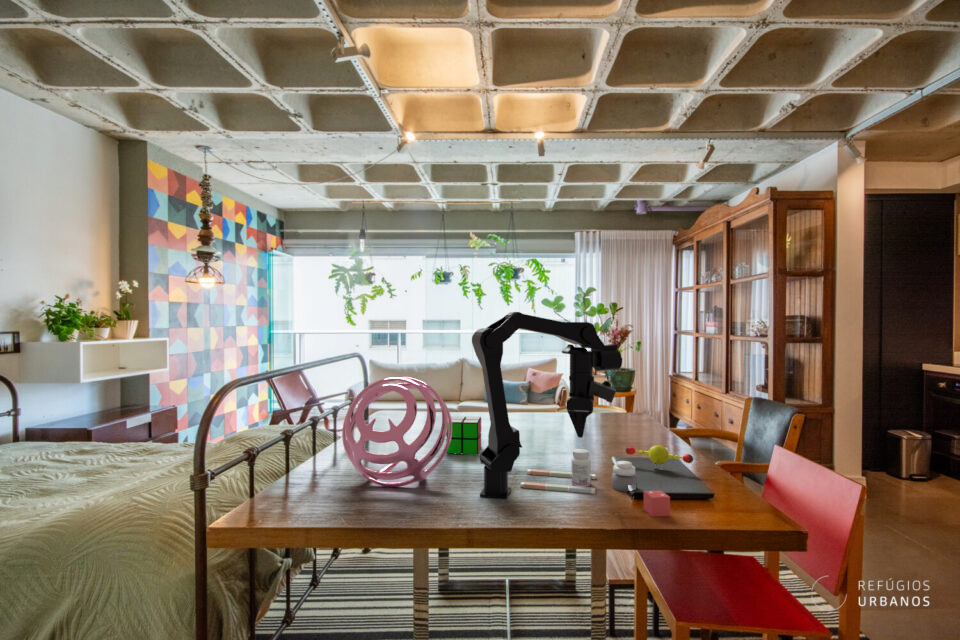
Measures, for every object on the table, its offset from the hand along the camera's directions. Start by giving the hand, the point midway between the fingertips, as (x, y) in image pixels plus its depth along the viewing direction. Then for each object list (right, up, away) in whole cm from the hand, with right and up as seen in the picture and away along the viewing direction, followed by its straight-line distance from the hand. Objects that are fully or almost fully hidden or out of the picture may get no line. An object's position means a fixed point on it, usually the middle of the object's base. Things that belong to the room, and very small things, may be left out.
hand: (581, 433), depth 124 cm
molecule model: (+24, -13, +13) cm, 30 cm away
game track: (-1, -13, 0) cm, 13 cm away
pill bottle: (0, -13, 0) cm, 13 cm away
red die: (+12, -13, -19) cm, 26 cm away
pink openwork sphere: (-48, -13, +1) cm, 49 cm away
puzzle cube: (-31, -13, +32) cm, 46 cm away
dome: (+10, -9, -3) cm, 14 cm away
